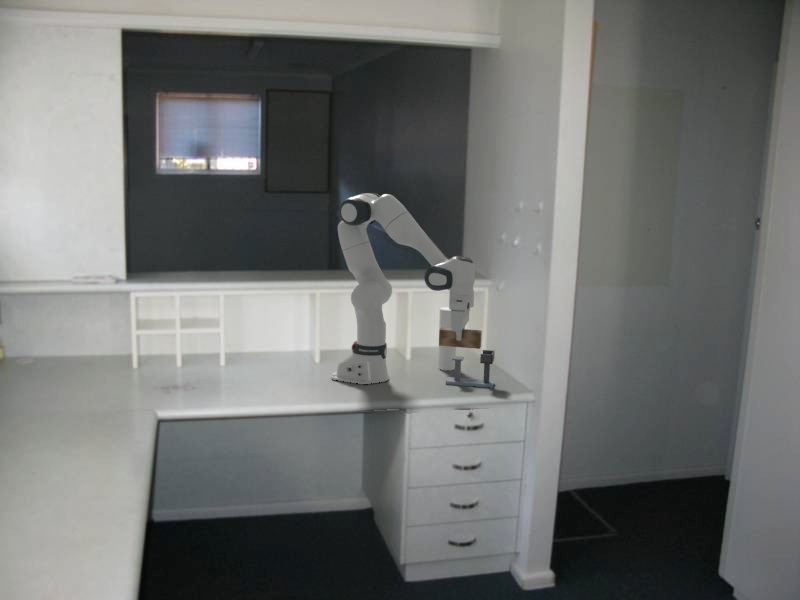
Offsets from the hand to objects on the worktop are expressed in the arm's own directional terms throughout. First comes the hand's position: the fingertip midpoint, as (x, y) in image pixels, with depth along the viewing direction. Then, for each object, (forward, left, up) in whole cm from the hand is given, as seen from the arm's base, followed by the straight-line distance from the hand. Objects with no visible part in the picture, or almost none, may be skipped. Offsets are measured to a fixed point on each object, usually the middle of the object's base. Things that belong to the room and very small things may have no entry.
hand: (460, 338), depth 291 cm
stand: (+3, +14, -21) cm, 25 cm away
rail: (0, 0, -3) cm, 3 cm away
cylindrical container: (-10, +34, -21) cm, 41 cm away
